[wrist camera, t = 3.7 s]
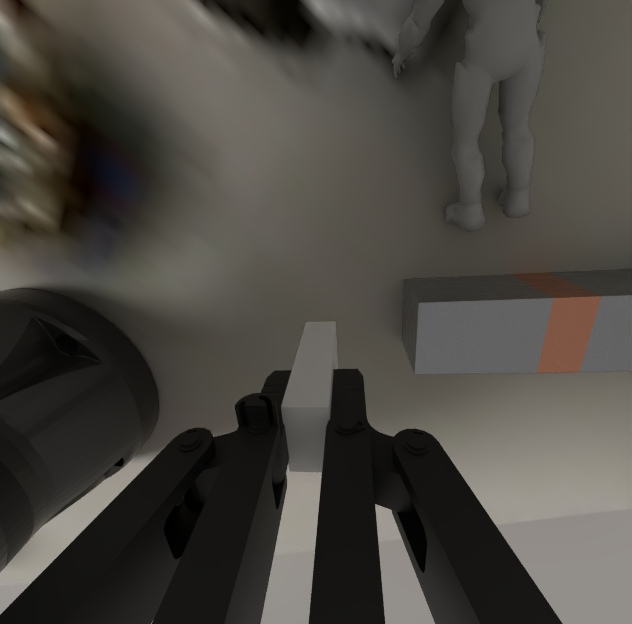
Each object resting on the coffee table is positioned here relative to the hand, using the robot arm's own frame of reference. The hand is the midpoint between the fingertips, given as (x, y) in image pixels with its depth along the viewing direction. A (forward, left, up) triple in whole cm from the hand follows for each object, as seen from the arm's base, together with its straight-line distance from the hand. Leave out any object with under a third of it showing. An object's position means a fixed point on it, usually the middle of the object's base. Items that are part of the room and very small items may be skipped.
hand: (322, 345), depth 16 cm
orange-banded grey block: (+12, 0, -4) cm, 12 cm away
